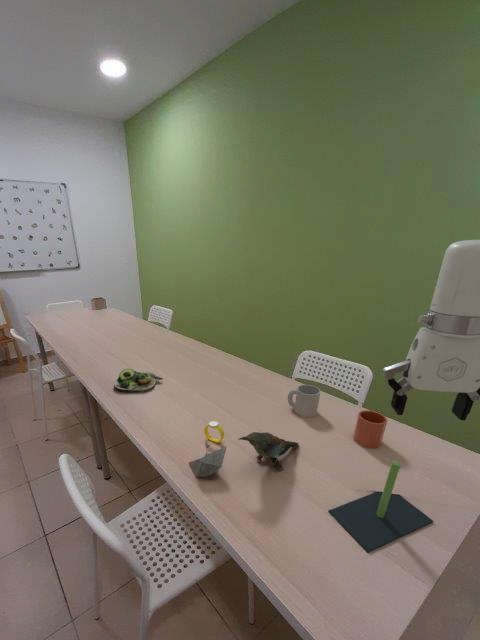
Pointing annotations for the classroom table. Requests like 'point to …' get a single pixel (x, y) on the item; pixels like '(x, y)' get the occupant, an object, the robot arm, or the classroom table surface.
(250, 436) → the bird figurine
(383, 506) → the green square stick
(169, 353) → the classroom table surface
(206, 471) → the paper boat
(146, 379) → the salad plate
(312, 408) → the cup
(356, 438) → the tumbler
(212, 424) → the gold diamond ring
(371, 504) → the mat
